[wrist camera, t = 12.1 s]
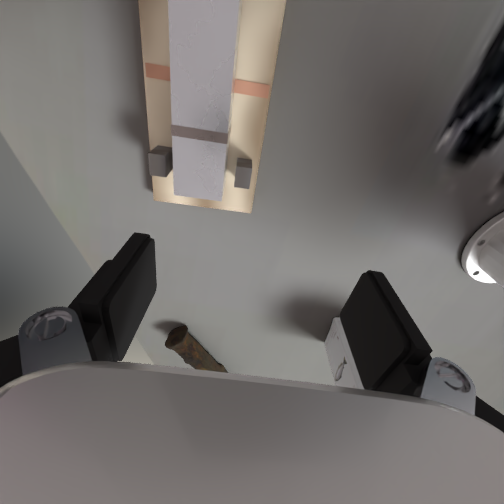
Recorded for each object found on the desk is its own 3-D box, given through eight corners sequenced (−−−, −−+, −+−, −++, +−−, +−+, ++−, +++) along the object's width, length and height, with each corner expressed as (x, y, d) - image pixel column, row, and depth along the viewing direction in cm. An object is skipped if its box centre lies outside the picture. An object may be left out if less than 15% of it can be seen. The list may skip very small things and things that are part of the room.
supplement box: (332, 316, 42) (360, 394, 32) (375, 317, 42) (416, 395, 32) (322, 342, 46) (343, 419, 36) (361, 344, 47) (393, 420, 36)
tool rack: (304, -120, 17) (320, -175, 13) (250, 207, 30) (251, 226, 27) (133, -166, 16) (98, -240, 12) (157, 195, 29) (144, 212, 26)
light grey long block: (250, -74, 17) (250, -115, 13) (225, 184, 27) (222, 201, 23) (182, -91, 16) (162, -138, 13) (183, 178, 27) (173, 195, 23)
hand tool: (167, 328, 44) (160, 352, 40) (187, 322, 43) (181, 346, 39) (218, 379, 54) (215, 402, 50) (235, 375, 53) (233, 398, 49)
